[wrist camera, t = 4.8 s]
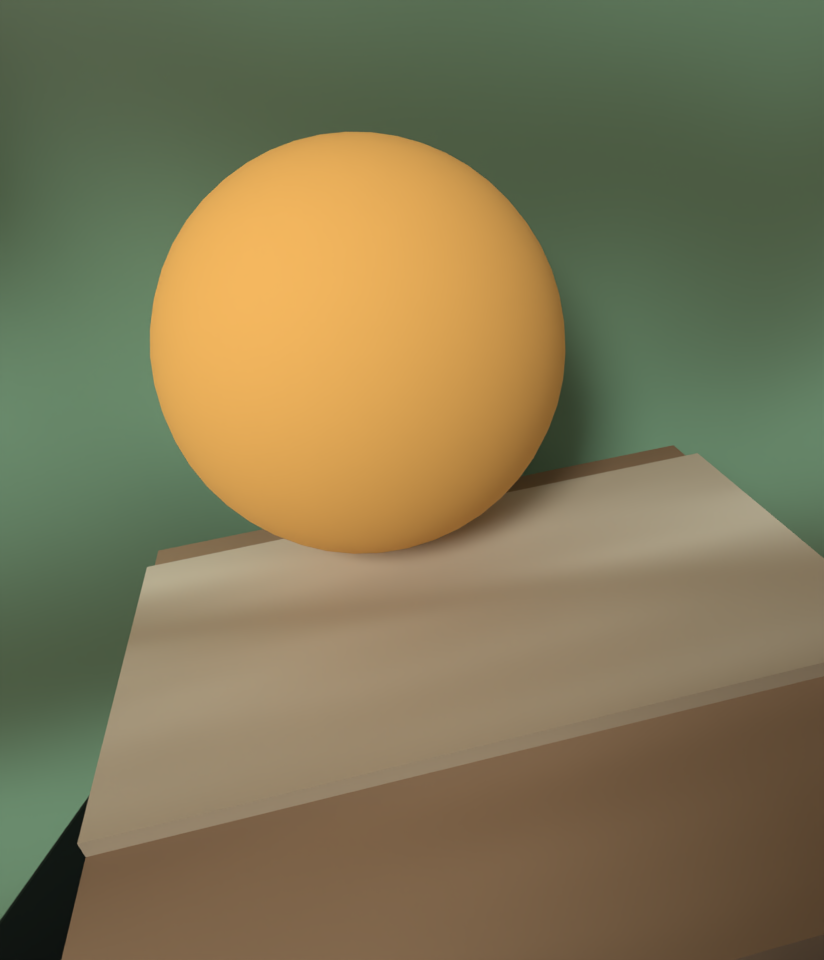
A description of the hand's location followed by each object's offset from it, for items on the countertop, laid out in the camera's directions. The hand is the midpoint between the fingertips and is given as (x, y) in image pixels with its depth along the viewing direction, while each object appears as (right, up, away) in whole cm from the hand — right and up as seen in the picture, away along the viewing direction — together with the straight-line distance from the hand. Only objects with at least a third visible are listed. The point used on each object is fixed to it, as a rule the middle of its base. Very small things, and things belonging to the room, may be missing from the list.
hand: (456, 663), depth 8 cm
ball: (-1, +3, -2) cm, 4 cm away
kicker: (0, 0, +1) cm, 1 cm away
